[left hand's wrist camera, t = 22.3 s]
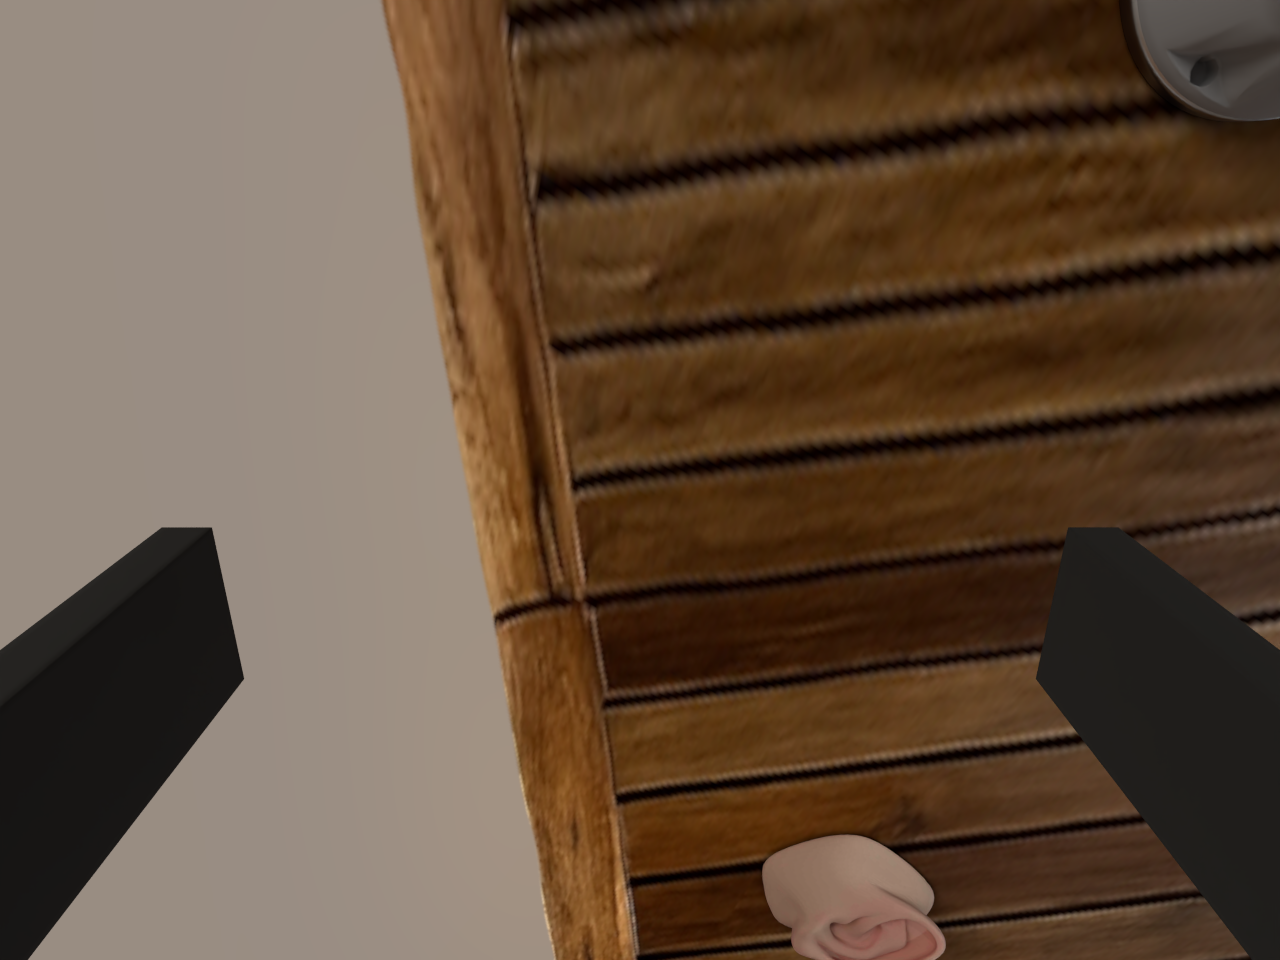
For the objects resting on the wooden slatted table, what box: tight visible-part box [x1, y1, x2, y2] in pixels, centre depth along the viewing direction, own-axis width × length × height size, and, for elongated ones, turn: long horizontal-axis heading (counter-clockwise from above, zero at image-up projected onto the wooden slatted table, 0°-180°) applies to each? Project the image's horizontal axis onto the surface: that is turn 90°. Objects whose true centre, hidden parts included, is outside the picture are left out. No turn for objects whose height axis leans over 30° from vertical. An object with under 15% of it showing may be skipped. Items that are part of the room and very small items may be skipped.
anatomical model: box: [762, 834, 946, 960], centre depth 61 cm, size 13×4×12 cm
